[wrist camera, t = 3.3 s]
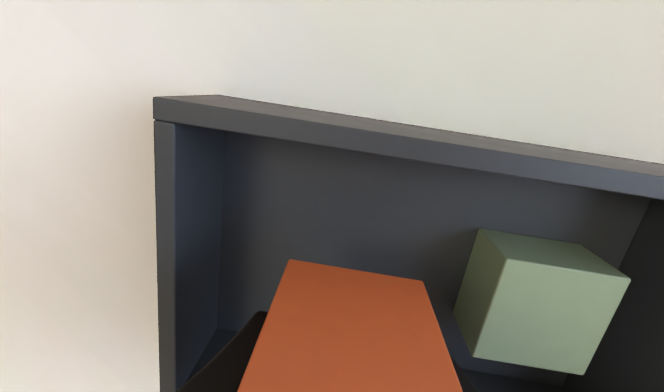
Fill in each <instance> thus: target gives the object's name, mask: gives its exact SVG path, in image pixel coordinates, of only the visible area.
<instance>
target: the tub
mask: <svg viewBox="0 0 664 392" xmlns="http://www.w3.org/2000/svg"><path fill="white" fill-rule="evenodd" d="M153 118H154V119H155V121H154V155H155V197H156V240H157V283H158V326H159V368H160V392H176V391H177V390H178V389H179V388H180V387H182V386H183V385H184V384H185V383H186V382H188V381H189V380H190V379H191V378H192V377H193V376H194V375H195V374H196V373H197V372H199V371H200V370H201V369H202V368H203V367H204V366H205V365H206V364H207V363H209V362H210V361H211V360H212V359H213V358H214V357H215V356H216V355H217V354H218V353H219V352H220V351H221V350H222V349H223V348H224V347H225V346H226V345H227V344H228V343H229V342H230V341H231V340H232V339H233V338H234V337H235V336H236V334H237V333H238V332H239V331H240V330H241V329H242V328H243V327H244V326H245V325H246V323H247V322H248V321H249V320H250V319H251V318H252V316H253V315H254V314H255V313H256V312H258V311H265V312H268V311H269V309H270V306H271V304H272V301H273V299H274V296H275V293H276V291H277V288H278V286H279V283H280V281H281V278H282V276H283V273H284V270H285V268H286V265H287V263H288V260H289V259H293V260H299V261H305V262H311V263H317V264H323V265H329V266H335V267H341V268H347V269H353V270H359V271H365V272H371V273H377V274H383V275H389V276H395V277H402V278H408V279H414V280H420V281H423V283H424V286H425V289H426V291H427V294H428V297H429V300H430V302H431V305H432V308H433V311H434V313H435V316H436V319H437V322H438V324H439V327H440V330H441V333H442V336H443V338H444V341H445V344H446V347H447V349H448V352H449V353H450V354H451V356H452V357H453V358H454V360H455V361H456V362H457V364H458V365H459V366H460V368H461V369H462V370H463V372H464V373H465V374H466V376H467V377H468V378H469V380H470V381H471V382H472V384H473V385H474V386H475V387H476V389H477V390H478V391H479V392H664V164H658V163H651V162H645V161H639V160H632V159H626V158H619V157H613V156H607V155H600V154H594V153H587V152H581V151H575V150H568V149H562V148H555V147H549V146H543V145H536V144H530V143H523V142H517V141H511V140H504V139H498V138H491V137H485V136H479V135H472V134H466V133H459V132H453V131H447V130H440V129H434V128H427V127H421V126H415V125H408V124H402V123H395V122H389V121H383V120H376V119H370V118H363V117H357V116H351V115H344V114H338V113H331V112H325V111H319V110H312V109H306V108H299V107H293V106H287V105H280V104H274V103H267V102H261V101H255V100H248V99H242V98H235V97H229V96H223V95H195V96H164V97H153ZM480 228H481V229H487V230H493V231H500V232H506V233H512V234H518V235H524V236H531V237H537V238H543V239H549V240H556V241H562V242H568V243H574V244H580V245H582V246H583V247H585V248H586V249H588V250H589V251H591V252H592V253H594V254H595V255H597V256H598V257H600V258H601V259H602V260H604V261H605V262H607V263H608V264H610V265H611V266H613V267H614V268H616V269H617V270H619V271H620V272H622V273H623V274H624V275H626V276H627V277H629V278H630V279H631V281H630V283H629V285H628V287H627V289H626V291H625V293H624V295H623V297H622V299H621V301H620V303H619V305H618V307H617V309H616V311H615V313H614V315H613V317H612V319H611V321H610V323H609V325H608V327H607V329H606V331H605V333H604V335H603V337H602V339H601V341H600V343H599V345H598V347H597V349H596V351H595V353H594V355H593V357H592V359H591V361H590V363H589V365H588V367H587V369H586V371H585V373H584V375H577V374H571V373H565V372H559V371H553V370H547V369H541V368H535V367H529V366H523V365H517V364H511V363H505V362H499V361H493V360H487V359H481V358H476V357H472V355H471V353H470V351H469V349H468V346H467V344H466V342H465V340H464V337H463V335H462V333H461V331H460V328H459V326H458V324H457V322H456V319H455V317H454V315H453V309H454V306H455V303H456V300H457V297H458V293H459V290H460V287H461V284H462V281H463V277H464V274H465V271H466V268H467V265H468V262H469V258H470V255H471V252H472V249H473V246H474V242H475V239H476V236H477V233H478V230H479V229H480Z"/></svg>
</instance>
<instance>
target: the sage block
mask: <svg viewBox="0 0 664 392" xmlns="http://www.w3.org/2000/svg"><path fill="white" fill-rule="evenodd" d="M630 281H631V279H630V278H629V277H627V276H626V275H624V274H623V273H622V272H620V271H619V270H617V269H616V268H614V267H613V266H611V265H610V264H608V263H607V262H605V261H604V260H602V259H601V258H600V257H598V256H597V255H595V254H594V253H592V252H591V251H589V250H588V249H586V248H585V247H583V246H582V245H580V244H574V243H568V242H562V241H556V240H549V239H543V238H537V237H531V236H524V235H518V234H512V233H506V232H500V231H493V230H487V229H481V228H480V229H479V230H478V233H477V236H476V239H475V242H474V246H473V249H472V252H471V255H470V258H469V262H468V265H467V268H466V271H465V274H464V277H463V281H462V284H461V287H460V290H459V293H458V297H457V300H456V303H455V306H454V309H453V315H454V317H455V319H456V322H457V324H458V326H459V328H460V331H461V333H462V335H463V337H464V340H465V342H466V344H467V346H468V349H469V351H470V353H471V355H472V357H476V358H481V359H487V360H493V361H499V362H505V363H511V364H517V365H523V366H529V367H535V368H541V369H547V370H553V371H559V372H565V373H571V374H577V375H584V373H585V371H586V369H587V367H588V365H589V363H590V361H591V359H592V357H593V355H594V353H595V351H596V349H597V347H598V345H599V343H600V341H601V339H602V337H603V335H604V333H605V331H606V329H607V327H608V325H609V323H610V321H611V319H612V317H613V315H614V313H615V311H616V309H617V307H618V305H619V303H620V301H621V299H622V297H623V295H624V293H625V291H626V289H627V287H628V285H629V283H630Z"/></svg>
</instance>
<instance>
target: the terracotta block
mask: <svg viewBox="0 0 664 392" xmlns="http://www.w3.org/2000/svg"><path fill="white" fill-rule="evenodd" d="M237 392H463V391H462V388H461V385H460V382H459V380H458V377H457V374H456V371H455V369H454V366H453V363H452V360H451V358H450V355H449V352H448V349H447V347H446V344H445V341H444V338H443V336H442V333H441V330H440V327H439V324H438V322H437V319H436V316H435V313H434V311H433V308H432V305H431V302H430V300H429V297H428V294H427V291H426V289H425V286H424V283H423V281H420V280H414V279H408V278H402V277H395V276H389V275H383V274H377V273H371V272H365V271H359V270H353V269H347V268H341V267H335V266H329V265H323V264H317V263H311V262H305V261H299V260H293V259H289V260H288V263H287V265H286V268H285V270H284V273H283V276H282V278H281V281H280V283H279V286H278V288H277V291H276V293H275V296H274V299H273V301H272V304H271V306H270V309H269V311H268V314H267V316H266V319H265V322H264V324H263V327H262V329H261V332H260V334H259V337H258V340H257V342H256V345H255V347H254V350H253V352H252V355H251V357H250V360H249V363H248V365H247V368H246V370H245V373H244V375H243V378H242V381H241V383H240V386H239V388H238V391H237Z"/></svg>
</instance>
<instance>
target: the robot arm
mask: <svg viewBox="0 0 664 392" xmlns="http://www.w3.org/2000/svg"><path fill="white" fill-rule="evenodd" d="M267 314H268V312H265V311H258V312H256V313H255V314H254V315H253V316H252V318H251V319H250V320H249V321H248V322H247V323H246V325H245V326H244V327H243V328H242V329H241V330H240V331H239V332H238V333H237V334H236V336H235V337H234V338H233V339H232V340H231V341H230V342H229V343H228V344H227V345H226V346H225V347H224V348H223V349H222V350H221V351H220V352H219V353H218V354H217V355H216V356H215V357H214V358H213V359H212V360H211V361H210V362H209V363H207V364H206V365H205V366H204V367H203V368H202V369H201V370H200V371H199V372H197V373H196V374H195V375H194V376H193V377H192V378H191V379H190V380H189V381H188V382H186V383H185V384H184V385H183V386H182V387H180V388H179V389H178V390H177V391H176V392H237V391H238V388H239V386H240V383H241V381H242V378H243V375H244V373H245V370H246V368H247V365H248V363H249V360H250V357H251V355H252V352H253V350H254V347H255V345H256V342H257V340H258V337H259V334H260V332H261V329H262V327H263V324H264V322H265V319H266V316H267ZM449 355H450V358H451V360H452V363H453V366H454V369H455V371H456V374H457V377H458V380H459V382H460V385H461V388H462V391H463V392H479V391H478V390H477V389H476V387H475V386H474V385H473V384H472V382H471V381H470V380H469V378H468V377H467V376H466V374H465V373H464V372H463V370H462V369H461V368H460V366H459V365H458V364H457V362H456V361H455V360H454V358H453V357H452V356H451V354H450V353H449Z"/></svg>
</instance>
